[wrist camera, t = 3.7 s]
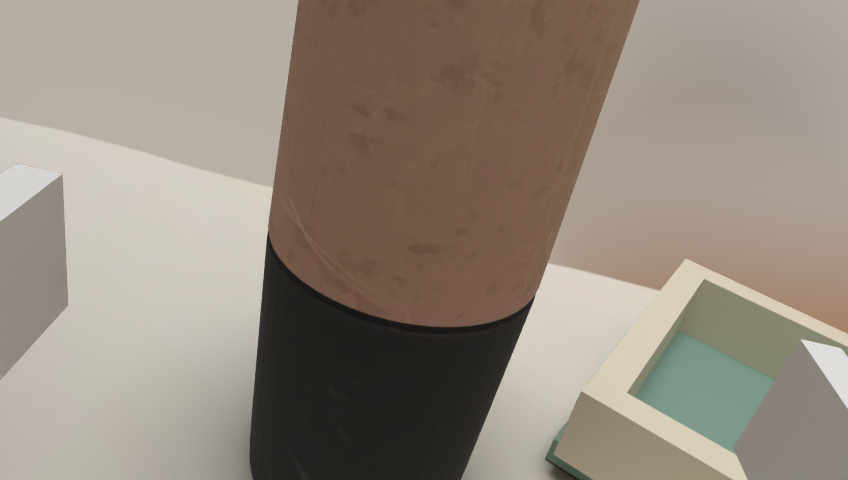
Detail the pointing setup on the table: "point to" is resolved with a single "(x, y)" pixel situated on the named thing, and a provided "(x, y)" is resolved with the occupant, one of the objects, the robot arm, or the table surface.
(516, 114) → the travel mug
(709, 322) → the rectangular tray
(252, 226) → the table surface
